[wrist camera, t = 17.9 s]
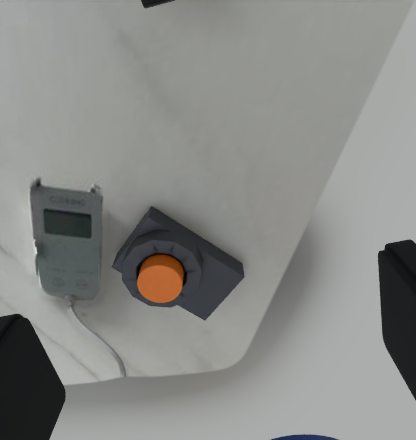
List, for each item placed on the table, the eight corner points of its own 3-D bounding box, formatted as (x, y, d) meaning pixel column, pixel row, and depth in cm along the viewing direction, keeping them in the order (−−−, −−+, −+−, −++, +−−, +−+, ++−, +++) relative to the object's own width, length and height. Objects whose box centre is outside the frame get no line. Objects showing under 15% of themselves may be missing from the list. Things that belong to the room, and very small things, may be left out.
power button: (192, 268, 33) (191, 280, 31) (168, 297, 34) (166, 310, 32) (155, 246, 32) (152, 257, 30) (132, 276, 33) (128, 288, 31)
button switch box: (244, 261, 36) (248, 286, 33) (203, 307, 39) (203, 335, 35) (153, 203, 34) (146, 224, 30) (115, 256, 36) (104, 281, 33)
